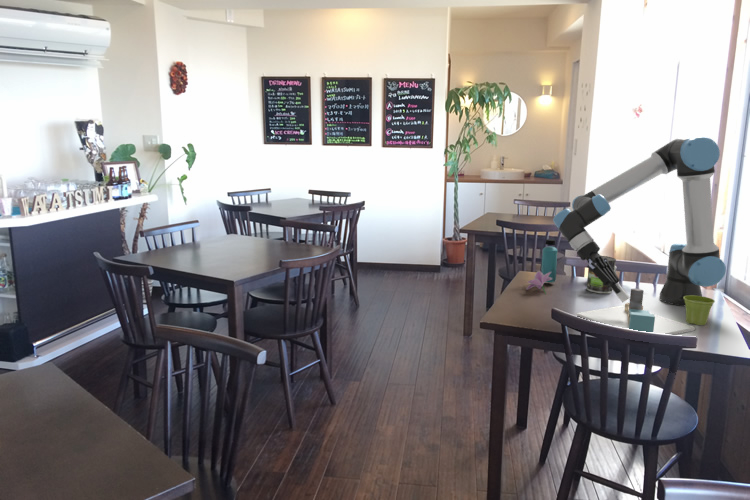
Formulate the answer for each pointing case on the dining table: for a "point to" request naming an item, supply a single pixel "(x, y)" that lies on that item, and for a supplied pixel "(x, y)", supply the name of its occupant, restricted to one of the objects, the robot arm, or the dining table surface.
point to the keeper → (641, 320)
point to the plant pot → (697, 309)
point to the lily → (539, 280)
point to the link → (634, 301)
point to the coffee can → (595, 283)
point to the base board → (620, 319)
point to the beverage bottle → (549, 260)
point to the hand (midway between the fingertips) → (626, 300)
